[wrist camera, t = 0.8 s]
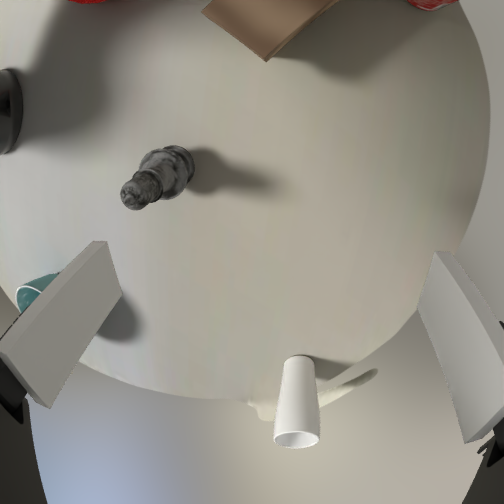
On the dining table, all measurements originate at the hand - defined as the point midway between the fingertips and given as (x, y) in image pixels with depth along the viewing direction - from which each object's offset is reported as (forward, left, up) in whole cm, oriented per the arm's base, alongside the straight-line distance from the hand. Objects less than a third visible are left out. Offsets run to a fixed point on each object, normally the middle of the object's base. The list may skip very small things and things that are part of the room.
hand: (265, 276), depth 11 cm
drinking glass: (+27, -22, -24) cm, 42 cm away
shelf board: (-11, +13, -19) cm, 25 cm away
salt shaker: (-8, -10, -24) cm, 27 cm away
